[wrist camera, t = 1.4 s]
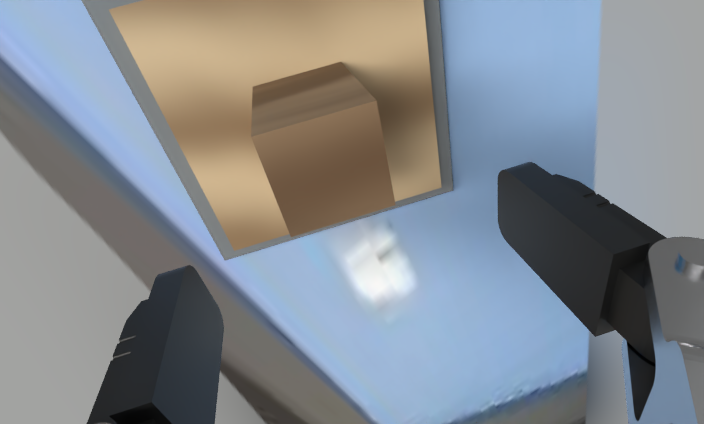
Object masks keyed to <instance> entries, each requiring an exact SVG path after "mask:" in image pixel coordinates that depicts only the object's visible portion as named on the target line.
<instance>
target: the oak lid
mask: <svg viewBox="0 0 704 424" xmlns="http://www.w3.org/2000/svg"><path fill="white" fill-rule="evenodd" d="M109 11H110V13H111V15H112V17H113V19H114V21H115V23H116V25H117V27H118V29H119V31H120V33H121V34H122V36H123V38H124V40H125V42H126V44H127V46H128V48H129V50H130V52H131V54H132V56H133V57H134V59H135V61H136V63H137V65H138V67H139V69H140V71H141V73H142V75H143V77H144V79H145V80H146V82H147V84H148V86H149V88H150V90H151V92H152V94H153V96H154V98H155V100H156V102H157V104H158V105H159V107H160V109H161V111H162V113H163V115H164V117H165V119H166V121H167V123H168V125H169V127H170V128H171V130H172V132H173V134H174V136H175V138H176V140H177V142H178V144H179V146H180V148H181V150H182V151H183V153H184V155H185V157H186V159H187V161H188V163H189V165H190V167H191V169H192V171H193V173H194V174H195V176H196V178H197V180H198V182H199V184H200V186H201V188H202V190H203V192H204V194H205V196H206V198H207V199H208V201H209V203H210V205H211V207H212V209H213V211H214V213H215V215H216V217H217V219H218V221H219V222H220V224H221V226H222V228H223V230H224V232H225V234H226V236H227V238H228V240H229V242H230V244H231V245H232V247H233V249H234V251H236V250H239V249H242V248H245V247H249V246H252V245H255V244H259V243H262V242H265V241H268V240H272V239H275V238H278V237H281V236H285V235H288V234H290V236H291V237H294V236H297V235H300V234H303V233H307V232H310V231H313V230H316V229H320V228H323V227H326V226H329V225H333V224H336V223H339V222H342V221H346V220H349V219H352V218H356V217H359V216H362V215H365V214H369V213H372V212H375V211H378V210H382V209H385V208H388V207H391V206H395V205H396V204H395V202H396V201H399V200H402V199H406V198H409V197H412V196H415V195H419V194H422V193H425V192H428V191H432V190H435V189H438V188H441V177H440V167H439V156H438V146H437V136H436V125H435V115H434V105H433V94H432V84H431V73H430V63H429V53H428V42H427V32H426V22H425V11H424V1H423V0H142V1H139V2H135V3H131V4H127V5H124V6H120V7H116V8H112V9H109Z"/></svg>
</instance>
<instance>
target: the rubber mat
mask: <svg viewBox="0 0 704 424" xmlns="http://www.w3.org/2000/svg"><path fill="white" fill-rule="evenodd" d="M139 1H142V0H82V2H83V4H84V6H85V7H86V9H87V11H88V13H89V15H90V16H91V18H92V20H93V22H94V24H95V26H96V27H97V29H98V31H99V33H100V35H101V36H102V38H103V40H104V42H105V44H106V46H107V47H108V49H109V51H110V53H111V55H112V56H113V58H114V60H115V62H116V64H117V65H118V67H119V69H120V71H121V73H122V75H123V76H124V78H125V80H126V82H127V84H128V85H129V87H130V89H131V91H132V93H133V95H134V96H135V98H136V100H137V102H138V104H139V105H140V107H141V109H142V111H143V113H144V115H145V116H146V118H147V120H148V122H149V124H150V125H151V127H152V129H153V131H154V133H155V134H156V136H157V138H158V140H159V142H160V144H161V145H162V147H163V149H164V151H165V153H166V154H167V156H168V158H169V160H170V162H171V164H172V165H173V167H174V169H175V171H176V173H177V174H178V176H179V178H180V180H181V182H182V184H183V185H184V187H185V189H186V191H187V193H188V194H189V196H190V198H191V200H192V202H193V204H194V205H195V207H196V209H197V211H198V213H199V214H200V216H201V218H202V220H203V222H204V223H205V225H206V227H207V229H208V231H209V233H210V234H211V236H212V238H213V240H214V242H215V243H216V245H217V247H218V249H219V251H220V253H221V254H222V256H223V258H224V260H228V259H231V258H234V257H238V256H241V255H244V254H247V253H251V252H254V251H257V250H261V249H264V248H267V247H270V246H274V245H277V244H280V243H283V242H287V241H290V240H293V239H296V238H300V237H303V236H306V235H309V234H313V233H316V232H319V231H322V230H326V229H329V228H332V227H335V226H339V225H342V224H345V223H348V222H352V221H355V220H358V219H362V218H365V217H368V216H371V215H375V214H378V213H381V212H384V211H388V210H391V209H394V208H397V207H401V206H404V205H407V204H410V203H414V202H417V201H420V200H423V199H427V198H430V197H433V196H436V195H440V194H443V193H446V192H449V191H453V180H452V167H451V154H450V141H449V127H448V114H447V101H446V88H445V75H444V62H443V48H442V35H441V22H440V9H439V0H423V1H424V11H425V22H426V32H427V42H428V53H429V63H430V73H431V84H432V94H433V105H434V115H435V125H436V136H437V146H438V156H439V167H440V177H441V188H438V189H435V190H432V191H428V192H425V193H422V194H419V195H415V196H412V197H409V198H406V199H402V200H399V201H396V202H395V204H396V205H395V206H391V207H388V208H385V209H382V210H378V211H375V212H372V213H369V214H365V215H362V216H359V217H356V218H352V219H349V220H346V221H342V222H339V223H336V224H333V225H329V226H326V227H323V228H320V229H316V230H313V231H310V232H307V233H303V234H300V235H297V236H294V237H291V236H290V234H288V235H285V236H281V237H278V238H275V239H272V240H268V241H265V242H262V243H259V244H255V245H252V246H249V247H245V248H242V249H239V250H236V251H234V249H233V247H232V245H231V244H230V242H229V240H228V238H227V236H226V234H225V232H224V230H223V228H222V226H221V224H220V222H219V221H218V219H217V217H216V215H215V213H214V211H213V209H212V207H211V205H210V203H209V201H208V199H207V198H206V196H205V194H204V192H203V190H202V188H201V186H200V184H199V182H198V180H197V178H196V176H195V174H194V173H193V171H192V169H191V167H190V165H189V163H188V161H187V159H186V157H185V155H184V153H183V151H182V150H181V148H180V146H179V144H178V142H177V140H176V138H175V136H174V134H173V132H172V130H171V128H170V127H169V125H168V123H167V121H166V119H165V117H164V115H163V113H162V111H161V109H160V107H159V105H158V104H157V102H156V100H155V98H154V96H153V94H152V92H151V90H150V88H149V86H148V84H147V82H146V80H145V79H144V77H143V75H142V73H141V71H140V69H139V67H138V65H137V63H136V61H135V59H134V57H133V56H132V54H131V52H130V50H129V48H128V46H127V44H126V42H125V40H124V38H123V36H122V34H121V33H120V31H119V29H118V27H117V25H116V23H115V21H114V19H113V17H112V15H111V13H110V11H109V9H112V8H116V7H120V6H124V5H127V4H131V3H135V2H139Z"/></svg>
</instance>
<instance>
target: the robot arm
mask: <svg viewBox="0 0 704 424" xmlns="http://www.w3.org/2000/svg"><path fill="white" fill-rule="evenodd" d="M498 224H499V228H500V231H501V233H502V235H503V237H504V239H505V240H506V241H507V243H508V244H509V245H510V246H511V247H512V248H513V249H514V250H515V251H516V252H517V253H518V254H519V255H520V257H521V258H522V259H523V260H524V261H525V262H526V263H527V264H528V265H529V266H530V267H531V268H532V269H533V270H534V272H535V273H536V274H537V275H538V276H539V277H540V278H541V279H542V280H543V281H544V282H545V283H546V284H547V286H548V287H549V288H550V289H551V290H552V291H553V292H554V293H555V294H556V295H557V296H558V297H559V298H560V299H561V301H562V302H563V303H564V304H565V305H566V306H567V307H568V308H569V309H570V310H571V311H572V312H573V313H574V314H575V316H576V317H577V318H578V319H579V320H580V321H581V322H582V323H583V324H584V325H585V326H586V327H587V328H588V329H589V331H590V332H591V333H592V334H593V335H594V336H595V337H596V336H599V335H602V334H605V333H608V332H610V331H614V330H616V331H617V332H618V333H619V334H620V335H621V336H622V337H623V338H624V339H623V342H622V357H623V368H624V379H625V389H626V401H627V412H628V423H629V424H704V239H699V238H692V237H672V238H666V237H664V236H663V235H661V234H660V233H658V232H657V231H655V230H654V229H652V228H650V227H649V226H647V225H646V224H644V223H642V222H641V221H640V220H638V219H636V218H635V217H633V216H632V215H630V214H628V213H627V212H626V211H624V210H622V209H621V208H619V207H618V206H616V205H614V204H610V203H609V201H608V200H607V199H605V198H604V197H602V196H601V195H599V194H597V195H596V194H595V192H594V191H593V190H591V189H590V188H588V187H587V186H585V185H584V184H582V183H580V182H579V181H576V180H573V179H570V178H567V177H564V176H560V175H557V174H555V175H551V174H549V173H548V172H547V171H545V170H544V169H542V168H541V167H539V166H538V165H536V164H535V163H532V162H528V163H524V164H521V165H518V166H515V167H511V168H508V169H505V170H502V171H500V173H499V175H498ZM223 332H224V326H223V319H222V315H221V312H220V309H219V307H218V305H217V304H216V302H215V300H214V299H213V297H212V295H211V294H210V292H209V291H208V289H207V287H206V286H205V284H204V282H203V281H202V279H201V277H200V276H199V274H198V273H197V271H196V270H195V268H194V267H192V266H190V265H188V266H185V267H182V268H178V269H175V270H172V271H168V272H165V273H162V274H159V275H157V277H156V278H155V281H154V284H153V287H152V290H151V293H150V296H149V299H148V300H144V301H141V303H140V304H139V305H138V306H137V308H136V309H135V310H134V311H133V313H132V314H131V315H130V317H129V318H128V319H127V321H126V323H125V325H124V328H123V331H122V333H121V336H120V338H119V341H120V343H119V344H117V346H116V349H115V352H114V354H113V360H112V361H111V362H110V365H109V367H108V370H107V372H106V375H105V378H104V381H103V383H102V386H101V388H100V391H99V393H98V396H97V399H96V401H95V404H94V406H93V409H92V412H91V414H90V417H89V420H88V422H87V424H214V423H215V412H216V402H217V393H218V383H219V373H220V362H221V352H222V342H223Z"/></svg>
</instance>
